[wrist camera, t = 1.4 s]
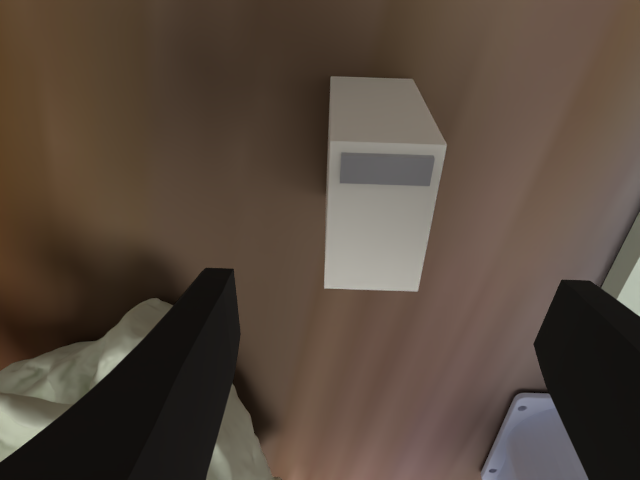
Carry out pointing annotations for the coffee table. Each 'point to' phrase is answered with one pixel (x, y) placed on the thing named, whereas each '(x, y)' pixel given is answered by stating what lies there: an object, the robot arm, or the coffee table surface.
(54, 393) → the folded clay sculpture
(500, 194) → the coffee table surface
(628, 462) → the robot arm
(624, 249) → the board
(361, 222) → the plug
